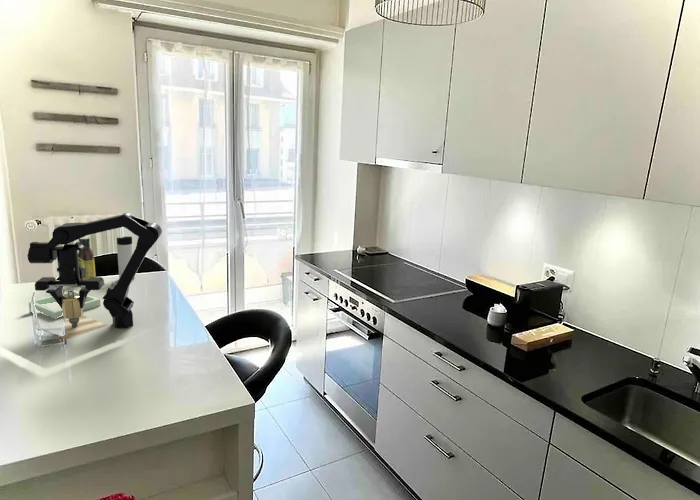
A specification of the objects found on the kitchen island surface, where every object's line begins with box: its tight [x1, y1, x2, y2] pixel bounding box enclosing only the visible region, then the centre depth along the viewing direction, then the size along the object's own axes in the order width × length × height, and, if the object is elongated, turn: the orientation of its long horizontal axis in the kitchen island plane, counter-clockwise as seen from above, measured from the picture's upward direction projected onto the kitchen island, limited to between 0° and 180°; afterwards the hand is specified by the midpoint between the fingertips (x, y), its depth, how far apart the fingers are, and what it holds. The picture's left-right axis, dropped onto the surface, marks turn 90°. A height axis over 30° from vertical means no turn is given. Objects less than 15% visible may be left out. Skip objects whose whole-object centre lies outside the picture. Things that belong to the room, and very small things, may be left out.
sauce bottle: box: [78, 236, 97, 280], centre depth 196 cm, size 6×6×20 cm
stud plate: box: [57, 314, 108, 341], centre depth 151 cm, size 14×14×6 cm
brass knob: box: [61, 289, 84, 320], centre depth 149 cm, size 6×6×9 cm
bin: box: [27, 289, 101, 319], centre depth 166 cm, size 16×16×4 cm
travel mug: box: [116, 235, 136, 280], centre depth 202 cm, size 6×7×20 cm
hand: (72, 308), depth 149 cm, fingers closed on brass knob, 5 cm apart
